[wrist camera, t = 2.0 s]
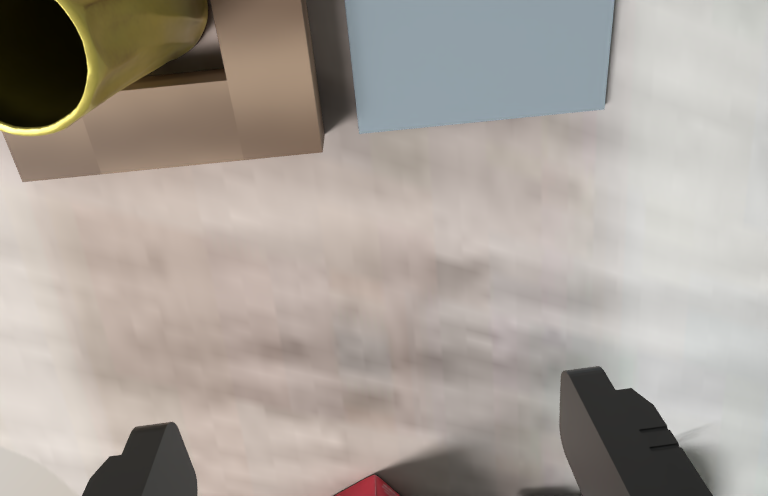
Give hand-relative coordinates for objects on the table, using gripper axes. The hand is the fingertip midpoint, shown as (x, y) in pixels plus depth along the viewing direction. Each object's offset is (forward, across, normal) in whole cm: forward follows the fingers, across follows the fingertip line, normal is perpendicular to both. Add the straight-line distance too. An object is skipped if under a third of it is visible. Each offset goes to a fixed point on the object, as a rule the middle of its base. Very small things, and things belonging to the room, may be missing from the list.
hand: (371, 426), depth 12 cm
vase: (+25, +10, -7) cm, 27 cm away
